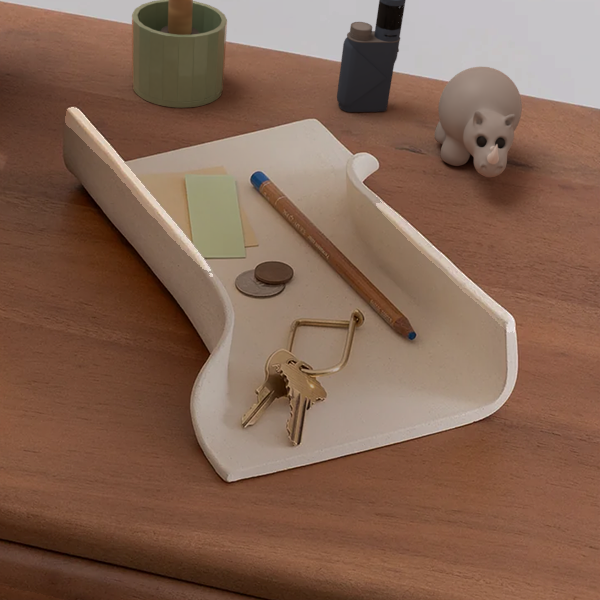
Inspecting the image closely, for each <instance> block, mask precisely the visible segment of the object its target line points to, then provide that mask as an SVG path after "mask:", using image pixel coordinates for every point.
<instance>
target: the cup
mask: <svg viewBox="0 0 600 600" xmlns="http://www.w3.org/2000/svg"><path fill="white" fill-rule="evenodd" d="M168 1H169V0H152V1H149V2H145V3H143V4H140V5H139V6H138V7H136V8H134V10H133V12H132V14H131V81H132V83H131V84H132V89H133V91H134V93H135V94H136V95H137V96H138V97H140V98H141V99H143V100H144V101H147V102H149V103H151V104H154V105H158V106H163V107H169V108H175V109H176V108H177V109H178V108H179V109H180V108H181V109H183V108H184V109H186V108H187V109H188V108H196V107H201V106H205V105H208V104H211V103H213V102H215V101H216V100H218V99H219V98H220V97H221V95H222V94H223V91H224V90H223V89H224V83H225V68H226V67H225V66H226V48H227V32H228V31H227V30H228V19H227V17H226V15H225V14H224V13H223V12H222V11H221V10H220V9H218V8H216V7H215V6H212V5H210V4H207V3H204V2H200V1H196V0H193V11H192V27H193V28H195V29H197V30H198V32H199V34H193V35H177V34H169V33H164V32H160V31H161V29H162V28H163V27H165V26H168Z"/></svg>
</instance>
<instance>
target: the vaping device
mask: <svg viewBox="0 0 600 600" xmlns="http://www.w3.org/2000/svg"><path fill="white" fill-rule="evenodd" d="M405 5H406V0H378V7H377V13H376V21H375V28H374V30H373V25H371V24H370V23H368V22H364V21H355V22H352V23H351V24H350V27H349V32H347V34H346V37H345V38H344V41H343V45H342V53H341V60H340V69H339V75H338V83H337V84H338V85H337V92H336V102H337V103H338V105H337V106H338V107H339V108H340V110H342V111H344V112H347V113H373V112H374V113H375V112H386V111H387V110H388V106H389V98H390V92H391V86H392V81H393V80H392V79H393V73H394V68H395V63H396V61H397V59H398V53H399V52H400V48H399V46H400V41H401V32H402V31H401V30H402V25H403V18H404V12H405Z"/></svg>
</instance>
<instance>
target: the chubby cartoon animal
mask: <svg viewBox="0 0 600 600" xmlns="http://www.w3.org/2000/svg"><path fill="white" fill-rule="evenodd" d="M522 112H523V103H522V96H521V93H520V90H519V89H518V87H517V85H516V84H515V82H514V81H513V79H512V78H510V77H509V75H507V74H506V73H504V72H503V71H500V70H499V69H496V68H494V67H490V66H473V67H470V68H466V69H464V70H462V71H460V72H458V73H457V74H455V75H454V76H453V77H451V79H450V80H448V81H447V83H446V85H445V86H444V88H443V90H442V92H441V94H440V96H439V101H438V112H437V113H438V118H439V120H438V122H437V125H436V127H435V130H434V139H435V141H436V142H438V143H439V144H440V145H441V148H440V153H439V154H440V155H439V156H440V159H441V160H442V161H443V162H445V163H446V164H448V165H451V166H453V167H454V166H455V167H459V166H463V165H465V164H467V163H468V161H469V159H470V157H471V156H472V157H473V166H474V169H475V170H476V172H477V173H478V174H479V175H481V176H483V177H485V178H495V177H497V176H500V175H501V174H502V173H503V172H504V171H505V169H506V168H507V163H508V153H509V151H510V150H511V148H512V146H513V143H514V140H515V131H516V130H517V128H518V126H519V124H520V121H521V117H522Z"/></svg>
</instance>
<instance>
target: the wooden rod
mask: <svg viewBox="0 0 600 600" xmlns="http://www.w3.org/2000/svg"><path fill="white" fill-rule="evenodd" d="M193 1H194V0H169V1H168V26H165V27H163V28H162V29H161V31H160V32H164V33H169V34H177V35H193V34H199V32H198V30H197V29H195V28H193V27H192V11H193Z"/></svg>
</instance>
